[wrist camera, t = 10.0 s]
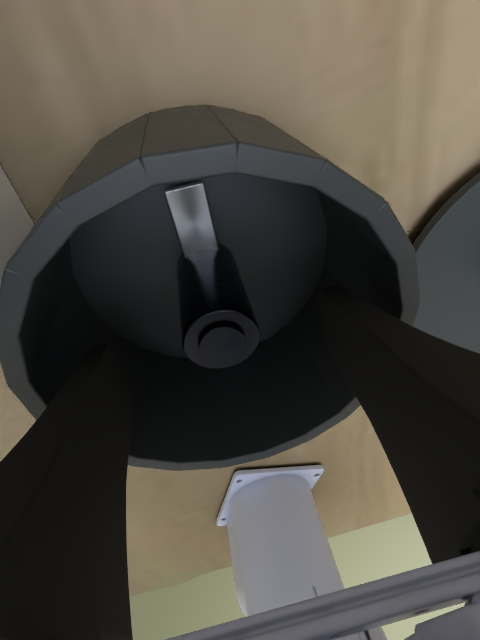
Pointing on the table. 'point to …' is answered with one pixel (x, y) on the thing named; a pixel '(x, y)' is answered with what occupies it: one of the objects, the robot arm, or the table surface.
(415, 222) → the table surface
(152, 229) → the bowl
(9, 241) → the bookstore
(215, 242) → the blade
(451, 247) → the bowl lid
